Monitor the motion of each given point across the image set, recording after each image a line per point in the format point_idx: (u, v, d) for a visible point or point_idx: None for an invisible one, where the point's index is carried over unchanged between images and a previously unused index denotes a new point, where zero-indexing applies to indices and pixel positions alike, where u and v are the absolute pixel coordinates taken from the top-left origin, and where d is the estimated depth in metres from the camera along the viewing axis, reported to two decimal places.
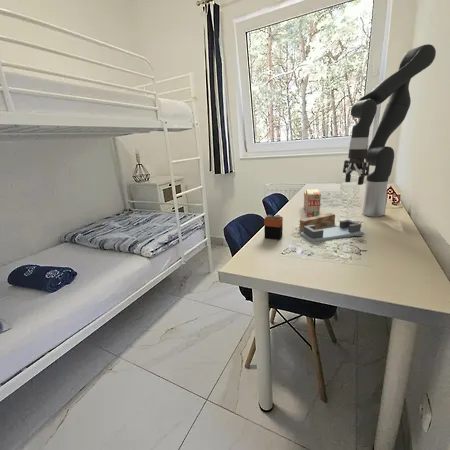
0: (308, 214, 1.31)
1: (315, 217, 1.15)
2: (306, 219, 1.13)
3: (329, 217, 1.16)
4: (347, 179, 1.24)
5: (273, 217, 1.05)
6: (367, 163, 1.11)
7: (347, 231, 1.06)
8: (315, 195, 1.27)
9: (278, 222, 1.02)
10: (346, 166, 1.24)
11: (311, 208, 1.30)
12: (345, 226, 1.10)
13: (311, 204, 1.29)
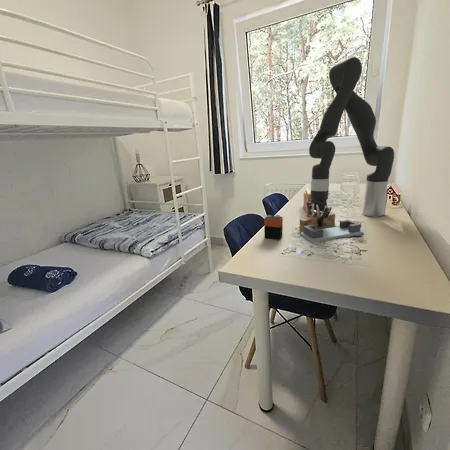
0: (308, 214, 1.32)
1: (315, 217, 1.15)
2: (306, 219, 1.13)
3: (329, 217, 1.16)
4: None
5: (273, 217, 1.05)
6: None
7: (347, 231, 1.06)
8: None
9: (278, 222, 1.02)
10: None
11: None
12: (345, 226, 1.10)
13: None
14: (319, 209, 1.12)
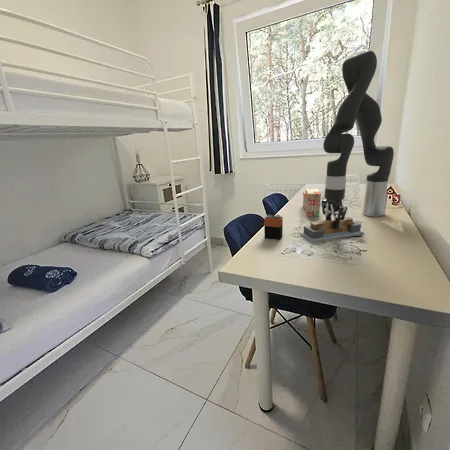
0: (308, 213, 1.32)
1: (329, 221, 1.05)
2: (318, 222, 1.04)
3: (345, 222, 1.05)
4: None
5: (273, 217, 1.05)
6: None
7: (347, 231, 1.06)
8: (315, 194, 1.28)
9: (278, 222, 1.02)
10: None
11: (312, 207, 1.31)
12: None
13: (311, 203, 1.30)
14: (334, 209, 1.01)
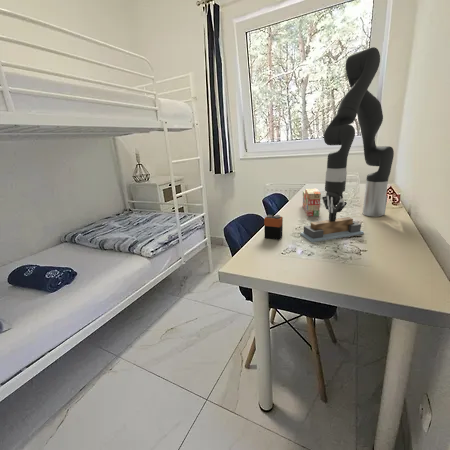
0: (308, 213, 1.33)
1: (329, 221, 1.05)
2: (318, 222, 1.04)
3: (345, 222, 1.05)
4: None
5: (273, 217, 1.05)
6: None
7: (347, 231, 1.06)
8: (315, 194, 1.29)
9: (278, 222, 1.02)
10: None
11: (312, 207, 1.31)
12: None
13: (311, 203, 1.31)
14: (333, 202, 1.01)
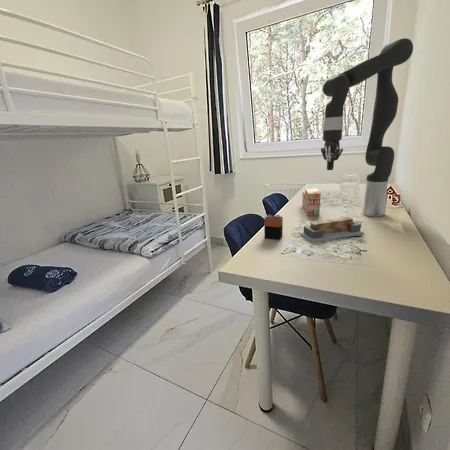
0: (308, 213, 1.33)
1: (329, 221, 1.05)
2: (318, 222, 1.04)
3: (345, 222, 1.05)
4: None
5: (273, 217, 1.05)
6: None
7: (347, 231, 1.06)
8: (315, 194, 1.29)
9: (278, 222, 1.02)
10: None
11: (312, 207, 1.32)
12: None
13: (311, 203, 1.31)
14: (330, 151, 1.09)
